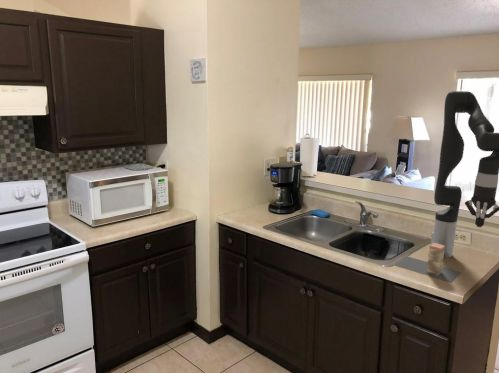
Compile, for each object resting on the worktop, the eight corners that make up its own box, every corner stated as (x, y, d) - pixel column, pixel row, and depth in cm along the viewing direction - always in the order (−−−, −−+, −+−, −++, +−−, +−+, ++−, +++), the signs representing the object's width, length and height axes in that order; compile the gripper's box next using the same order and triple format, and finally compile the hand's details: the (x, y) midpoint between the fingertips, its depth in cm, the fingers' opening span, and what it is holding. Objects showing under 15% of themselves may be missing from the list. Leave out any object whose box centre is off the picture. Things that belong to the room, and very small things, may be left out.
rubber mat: (393, 266, 182) (393, 265, 182) (406, 257, 192) (406, 256, 192) (451, 284, 166) (451, 282, 166) (462, 273, 176) (462, 271, 176)
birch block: (426, 272, 175) (429, 245, 172) (430, 269, 178) (433, 242, 176) (437, 275, 172) (441, 248, 169) (441, 272, 175) (444, 245, 173)
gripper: (507, 185, 159) (499, 228, 164) (469, 179, 168) (463, 220, 172) (503, 189, 154) (495, 233, 158) (465, 183, 162) (458, 225, 166)
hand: (479, 226), depth 165 cm, fingers closed
